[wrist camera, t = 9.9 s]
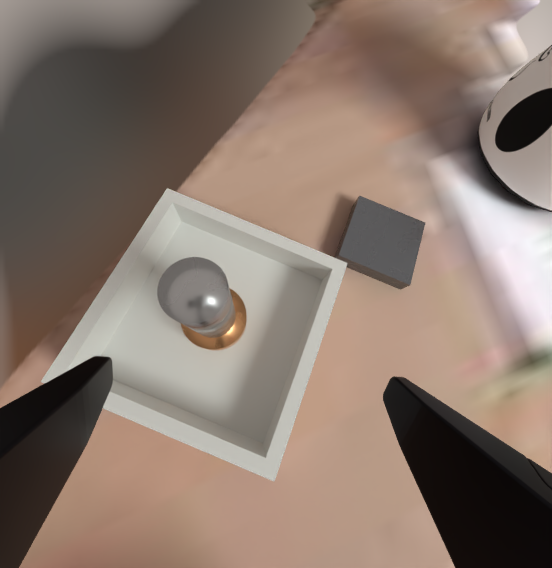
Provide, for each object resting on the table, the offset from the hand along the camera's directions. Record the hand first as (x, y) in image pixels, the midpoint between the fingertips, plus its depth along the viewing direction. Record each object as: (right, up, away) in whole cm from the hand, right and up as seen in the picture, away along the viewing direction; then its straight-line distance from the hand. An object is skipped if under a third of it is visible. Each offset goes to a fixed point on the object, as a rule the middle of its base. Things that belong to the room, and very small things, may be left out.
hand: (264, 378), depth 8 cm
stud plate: (+10, +7, +18) cm, 22 cm away
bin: (-5, 0, +14) cm, 14 cm away
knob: (-4, 0, +13) cm, 14 cm away
